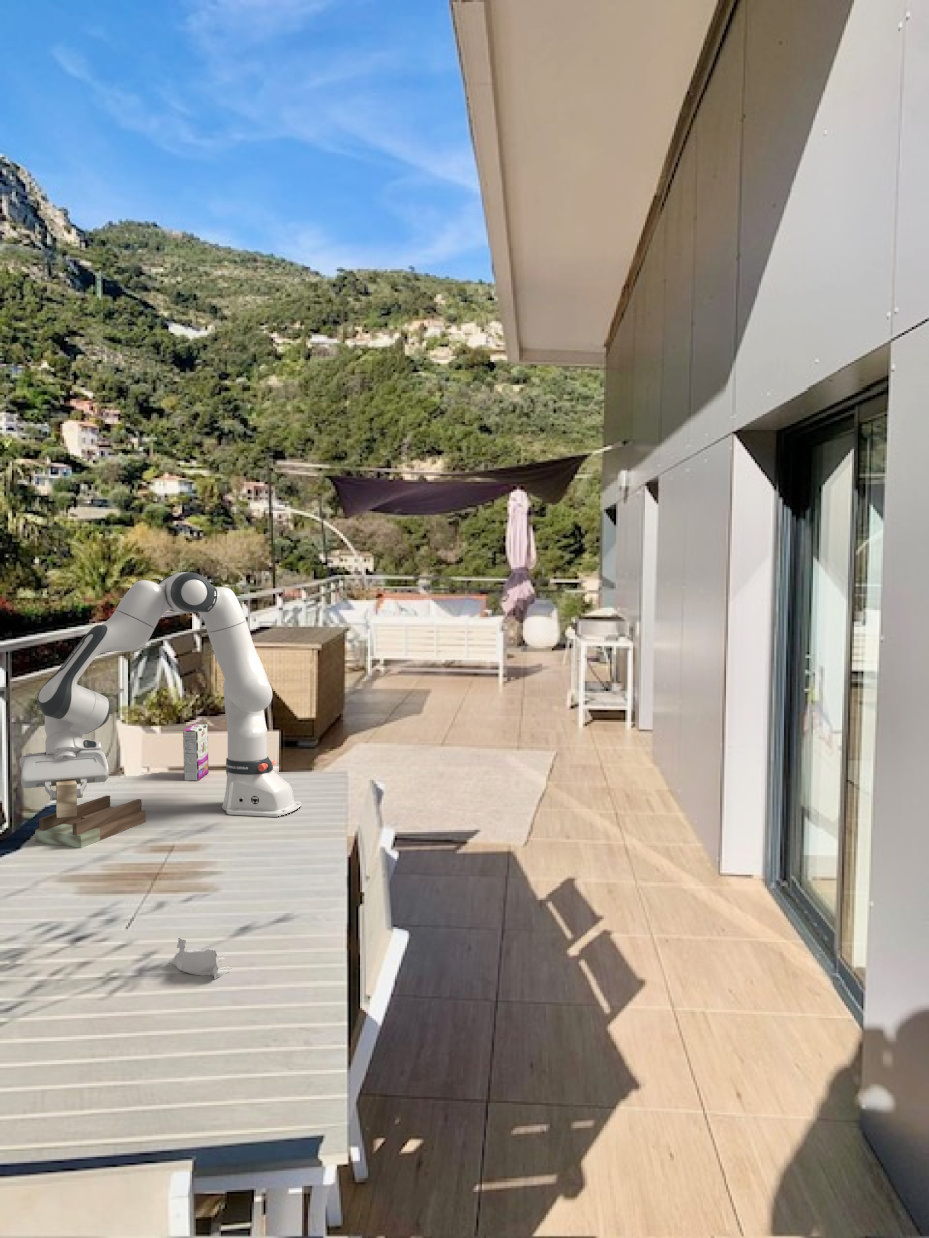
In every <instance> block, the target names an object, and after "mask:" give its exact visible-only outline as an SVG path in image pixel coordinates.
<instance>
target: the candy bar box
mask: <svg viewBox="0 0 929 1238" xmlns="http://www.w3.org/2000/svg"><path fill="white" fill-rule="evenodd" d="M182 738H183V739H182V742H183V744H182V745H183V746H182V747H183V781H185V782H199V781H200V780H201V779H203V778H204V777H205V776H207V775H208V774H209V727H208V724H204V723H203V724H198V723H197V724H192V725H190V726H189V727H188V728H185V729H184V730H182Z"/></svg>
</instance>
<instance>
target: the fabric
mask: <svg viewBox="0 0 929 1238" xmlns="http://www.w3.org/2000/svg"><path fill="white" fill-rule="evenodd" d="M177 941H178V942H177V945H176V948H177V949H179V951H178V953H176V954H174V956H173V958H172V959H170V960H169V961H168V964H171V965H174V966H175V967H176V968H177V969H178V970H179V971H180V972H183V973H187V974H190V975H194V976H195V975H196V976H212V977H213V979H214V980H216V979H218V978H220V977H223V976H225V975H226V974H228V973H230V972H229V970H233V968H232V967H231V966H225V967H219V965H220V963H219V962H222V961H225V957H223V956H222V957H219V958H218V954H217V951H216V950H215V949H209V948H208V949H206V950H200V949H188V950H186V947H187V941H186V939H182V938H180V937H178V940H177Z"/></svg>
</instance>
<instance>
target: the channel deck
mask: <svg viewBox="0 0 929 1238" xmlns="http://www.w3.org/2000/svg"><path fill="white" fill-rule="evenodd" d="M142 807H143V806H142V799H140V798H136V799H134V800H131V801H128V802H125V803H122V804H119V805H117V806H111V795H104V796H101V797H98V798H95V799H92V800H89V801H87V802H84V803H80V804H77V816H71V817H61V818H57V815H56V812H54V813H51V814H49V815H45V816H43V817H39V818H38V820H39V822H38V823H39V824H38V825H39V828H36V829H35V830H34V831H35V833H34V838H35V839H34V840H35V842H36V843H42V844H49V845H55V846H56V845H57V846H63V847H71V848H78V849H83V848H85V847H88V846H89V845H92V844H94V843H97V842H100V841H102V840H105V839H107V838H110V837H111V836H114V835H116V834H119V833H122V832H123V831H126V830H129V829H132V828H134V827H136V826H138V825H141V824H144V823H146V822H147V821H146V820H147V819H146V815H147V814H146V813H147V812H146V810H142V809H143V808H142Z"/></svg>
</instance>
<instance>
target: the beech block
mask: <svg viewBox="0 0 929 1238" xmlns="http://www.w3.org/2000/svg"><path fill="white" fill-rule="evenodd" d="M77 789H78V784H77V783H76V780H70V781H58V782H56V786H55V791H57V800H55V804H56V806H55V807H56V808H55V813H56V815H57V818H61V817H71V816H77V805H78V798H77Z"/></svg>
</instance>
